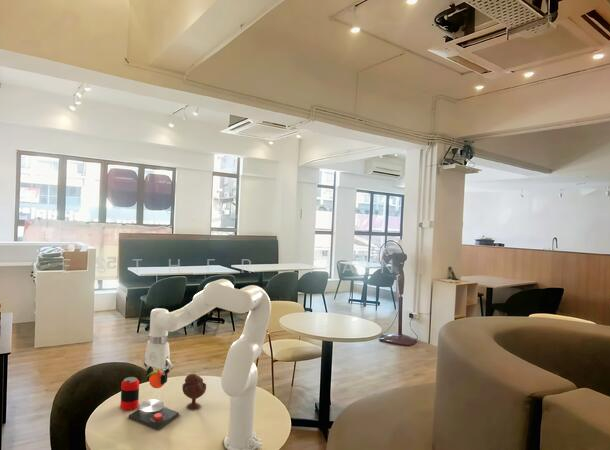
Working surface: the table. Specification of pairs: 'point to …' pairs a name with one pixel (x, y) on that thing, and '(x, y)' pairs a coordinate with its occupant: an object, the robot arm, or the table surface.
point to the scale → (149, 418)
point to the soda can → (129, 393)
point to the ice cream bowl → (193, 389)
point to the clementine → (155, 379)
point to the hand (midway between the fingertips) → (156, 380)
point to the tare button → (158, 416)
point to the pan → (151, 406)
